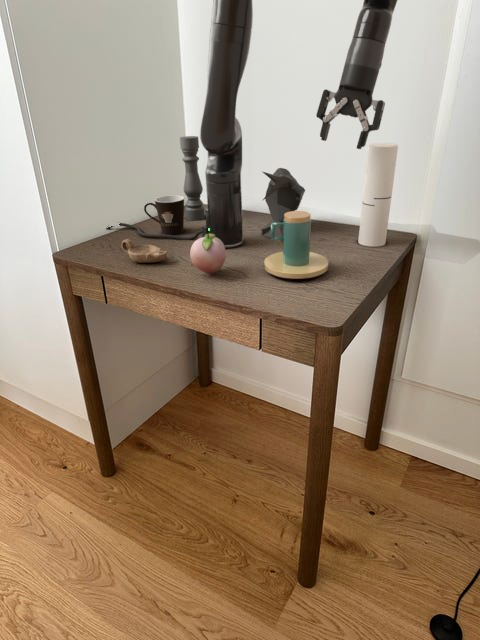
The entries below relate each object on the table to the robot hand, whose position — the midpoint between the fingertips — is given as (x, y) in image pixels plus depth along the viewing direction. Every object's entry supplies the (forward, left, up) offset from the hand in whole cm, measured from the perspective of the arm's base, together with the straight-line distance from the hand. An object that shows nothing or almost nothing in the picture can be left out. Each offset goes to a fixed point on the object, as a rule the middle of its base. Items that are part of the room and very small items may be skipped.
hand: (341, 144), depth 105 cm
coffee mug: (-50, -12, -27) cm, 58 cm away
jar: (-1, -15, -25) cm, 30 cm away
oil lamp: (-36, -33, -27) cm, 56 cm away
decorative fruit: (-16, -29, -27) cm, 43 cm away
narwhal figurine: (-23, +9, -27) cm, 36 cm away
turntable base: (-1, -15, -26) cm, 31 cm away
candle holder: (-54, +3, -27) cm, 60 cm away
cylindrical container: (+4, +14, -27) cm, 30 cm away
